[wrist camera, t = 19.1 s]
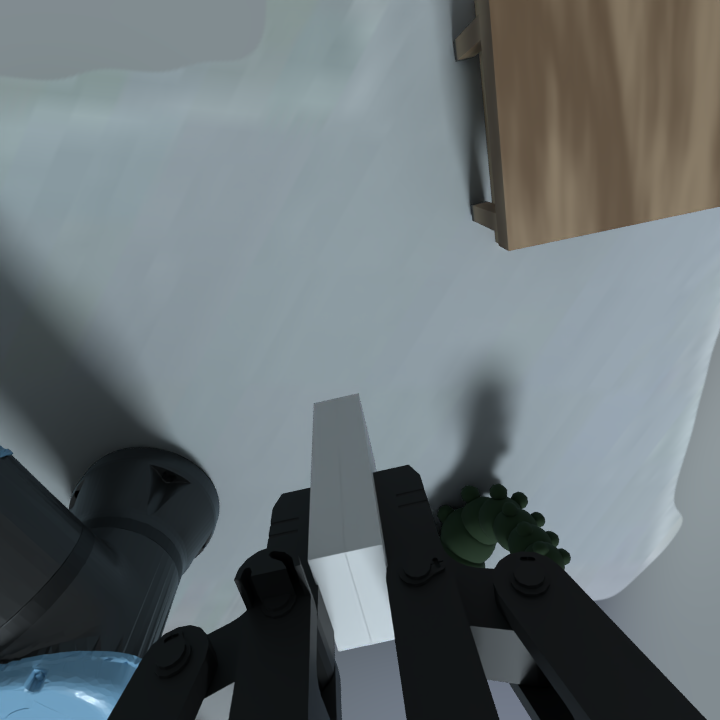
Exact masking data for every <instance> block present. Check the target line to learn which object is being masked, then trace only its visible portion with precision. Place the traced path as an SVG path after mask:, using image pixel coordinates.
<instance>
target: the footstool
mask: <svg viewBox="0 0 720 720" xmlns="http://www.w3.org/2000/svg"><path fill="white" fill-rule="evenodd" d="M477 1H478V12H479V14H478V15H477V16H476V17H475V19H474V20H473V21H472V22H471V23H470V24H469V25H468V26H467V27H466V28H465V29H464V31H463V32H462V33H461V34H460V35H459V36H458V37H457V38H456V39H455V40H454V50H455V60H456V62H457V61H461V60H465V59H470V58H473V57H474V56H476V55H477V54H478V53H479V52H481V51H482V58H483V70H484V82H485V93H486V105H487V116H488V128H489V139H490V151H491V163H492V174H493V186H494V197H495V204H494V203H490V202H487V201H486V202H481V203H476V204H472V205H471V210H472V220H473V221H475V222H477V223H479V224H481V225H483V226H485V227H487V228H489V229H492V230H494V231H496V232H498V244H499V246H501V247H502V248H504V249H506V250H508V251H511V250H516V249H521V248H525V247H530V246H535V245H540V244H544V243H549V242H554V241H559V240H563V239H568V238H573V237H578V236H582V235H587V234H592V233H597V232H601V231H606V230H611V229H616V228H620V227H625V226H630V225H635V224H639V223H644V222H649V221H654V220H658V219H663V218H668V217H673V216H677V215H682V214H687V213H692V212H696V211H701V210H706V209H711V208H715V207H720V0H477Z"/></svg>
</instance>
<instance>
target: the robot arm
mask: <svg viewBox="0 0 720 720" xmlns="http://www.w3.org/2000/svg"><path fill="white" fill-rule="evenodd" d="M12 454H13V452H12V451H11V450H9V449H4V448H3V447H2V446H0V720H342V712H341V684H340V675H339V671H338V667H337V664H336V661H335V650H334V649H335V647H334V639H335V642H336V645H337V648H338V651H343V650H348V649H352V648H356V647H361V646H366V645H371V644H376V643H380V642H384V641H389V640H394V639H395V643H396V651H397V657H398V663H399V671H400V677H401V684H402V691H403V697H404V704H405V711H406V718H407V720H499V717H498V714H497V710H496V707H495V704H494V701H493V698H492V695H491V692H490V689H489V685H488V682H487V680H493V681H500V682H507V683H509V684H510V685H511V687H512V689H513V690H514V692H515V693H516V695H517V697H518V698H519V700H520V702H521V703H522V705H523V706H524V708H525V710H526V711H527V713H528V714H529V716H530V718H531V719H532V720H707V719H706V718H705V717H704V716H702V715H701V713H700V712H699V711H698V710H697V709H696V708H695V707H694V706H693V705H692V704H691V703H690V702H689V701H688V700H687V698H685V696H683V694H682V693H681V692H680V691H679V690H678V689H677V688H676V687H675V686H674V685H673V684H672V683H671V682H670V681H669V680H668V679H667V678H666V677H665V676H664V675H663V673H662V672H661V671H660V670H659V669H658V668H657V667H656V666H655V665H654V664H653V663H652V662H651V661H650V660H649V659H648V658H647V657H646V656H645V654H643V652H642V651H641V650H640V649H639V648H638V647H637V646H636V645H635V644H634V643H633V642H632V641H631V640H630V639H629V638H628V637H627V636H626V635H625V634H624V632H623V631H622V630H621V629H620V628H619V627H618V626H617V625H616V624H615V623H614V622H613V621H612V620H611V619H610V618H609V617H608V616H607V615H606V614H605V613H604V612H603V611H602V610H601V608H600V607H599V606H598V605H597V604H596V603H595V602H594V601H593V600H592V599H591V598H590V597H589V596H588V595H587V594H586V593H585V592H584V591H583V589H582V588H581V587H580V586H579V585H578V584H577V583H576V582H575V581H574V580H573V579H572V578H571V577H570V576H569V575H568V574H567V573H566V572H565V571H564V570H563V569H562V567H561V566H560V565H558V564H557V563H556V562H554V561H553V560H552V559H550V558H549V557H547V556H544V555H541V554H539V553H536V552H523V551H520V552H517V553H513V554H509V555H507V556H506V557H504V558H503V559H501V560H500V561H499V562H498V564H497V565H496V567H495V569H489V568H477V567H471V566H466V565H464V564H461V563H459V562H457V561H455V560H454V559H452V558H451V557H450V556H449V555H448V554H447V553H446V552H445V550H444V548H443V546H442V544H441V541H440V538H439V535H438V531H437V528H436V525H435V522H434V519H433V515H432V512H431V509H430V506H429V503H428V499H427V496H426V493H425V490H424V487H423V483H422V480H421V477H420V475H419V474H418V473H417V472H416V471H415V470H414V469H413V468H412V467H411V466H409V465H405V466H401V467H396V468H391V469H387V470H382V471H378V472H377V471H376V465H375V460H374V456H373V452H372V447H371V443H370V439H369V435H368V431H367V426H366V422H365V418H364V414H363V410H362V405H361V401H360V397H359V393H358V394H354V395H349V396H345V397H340V398H336V399H331V400H327V401H322V402H318V403H314V411H313V436H312V462H311V488H306V489H302V490H297V491H293V492H288V493H284V494H282V495H281V496H280V498H279V499H278V501H277V503H276V504H275V506H274V507H273V510H272V517H271V526H270V531H269V539H268V544H267V548H266V549H264V550H261V551H258V552H257V553H255V554H254V555H252V556H251V557H250V558H248V559H247V560H246V561H245V562H244V563H243V565H242V566H241V567H240V568H239V570H238V572H237V574H236V577H235V579H234V581H235V583H236V585H237V588H238V590H239V592H240V594H241V597H242V599H243V601H244V604H245V606H246V608H247V611H246V612H245V613H244V614H242V615H241V616H240V617H239V618H237V619H236V620H234V621H232V622H231V623H229V624H227V625H225V626H223V627H221V628H219V629H217V630H216V631H214V632H212V633H210V634H208V635H207V634H206V633H205V632H204V631H203V630H202V629H201V628H200V627H196V626H192V625H188V626H183V627H178V628H176V629H174V630H172V631H170V632H168V633H166V634H164V635H163V636H162V633H163V630H164V627H165V624H166V621H167V618H168V615H169V612H170V609H171V606H172V603H173V600H174V597H175V594H176V591H177V588H178V585H179V582H180V579H181V576H182V575H183V574H184V573H185V571H186V570H187V569H188V567H189V566H190V564H191V563H192V561H193V559H194V558H196V557H197V556H198V555H199V554H200V553H201V552H202V551H203V550H204V548H205V547H206V546H207V544H208V543H209V541H210V539H211V537H212V535H213V533H214V530H215V526H216V523H217V520H218V516H219V500H218V496H217V493H216V490H215V488H214V486H213V484H212V482H211V481H210V479H209V478H208V477H207V476H206V475H205V473H204V472H203V471H202V470H200V469H199V468H198V467H197V466H196V465H194V464H193V463H192V462H190V461H188V460H187V459H185V458H183V457H181V456H179V455H176V454H174V453H171V452H168V451H164V450H160V449H154V448H129V449H123V450H119V451H116V452H113V453H111V454H108V455H106V456H104V457H103V458H101V459H100V460H98V461H97V462H96V463H94V464H93V465H92V466H91V467H90V468H89V470H88V471H87V472H86V473H85V475H84V476H83V477H82V479H81V480H80V481H79V483H78V484H77V486H76V488H75V490H74V492H73V494H72V497H71V500H70V505H69V509H67V508H66V507H65V506H64V505H63V504H62V503H61V502H60V501H59V500H58V499H57V498H56V497H55V496H54V495H53V494H51V493H50V492H49V491H48V490H47V489H46V488H45V487H44V486H43V485H42V484H41V483H40V482H39V481H38V480H37V479H36V478H35V477H34V476H33V475H32V474H31V473H30V472H29V471H28V470H27V469H26V468H25V467H24V466H23V465H22V464H21V463H20V462H19V461H18V460H17V459H15V458H14V457H13V456H12ZM161 636H162V637H161Z"/></svg>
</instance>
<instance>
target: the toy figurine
mask: <svg viewBox="0 0 720 720" xmlns="http://www.w3.org/2000/svg"><path fill="white" fill-rule="evenodd" d="M461 496H462V499H463V501H464V502H466V503H467V504H466V505H465V506H464V507H463V508H459V509H457V510H455V511H454V510H453V508H452V507H450V506H448V505H444V506H442V507H440V508H439V512H438V515H437V516H438V518H439V520H440V521H441V522H442V523H443V525H442V528H441V536H440V537H439V538H440V541H441V544H442V546H443V548H444V550H445V552H446V553H447V554H448V555H449V556H450V557H451V558H452V559H454V560H455V561H457V562H459V563H461V564H464V565H466V566H471V567H477V568H485V562H484V561H486V560H487V559H488V558H489V557H490V556H491V554H492V553H493V551H494V549H495V546H496V543H497V542H498V543H499V544H500V545H501V546H502V547H503V548H504V549H506V550H508V551H510V554H513V553H517V552H520V551H523V552H536V553H539V554H541V555H544V556H547V557H549V558H550V559H552V560H553V561H554V562H556V563H557V564H558V565H560V566H561V567H562V569H563V570H564V569H565V565H566V564H568V563H569V562H570V559H571V557H570V554H569V553H568V552H567V551H566V550H564V549H563V548H562V549H557V548H556V546H557V545H558V543H559V538H558V535H556V534H555V533H554V532H551V531H546V532H545V531H544V530H543V529H541V528H540V527H542V526H543V525H544V523H545V518H544V517H543V515H542V514H541V513H538V512H534V513H532V514H531V515H530V514H529V513H528V512H527V511H525V510H522V509H523V508H525V507H526V505H527V504H528V500H527V497H526V496H525V495H524V494H523V493H521V492H516V493H514V494H513V495H512V497H511V498H509V497H507V489H506V488H505V487H504V486H503V485H501V484H496V485H493V486H492V487H491V488H490V496H491V498H489V497H483V496H481V497H480V493H479V491H478V489H477V488H476V487H473V486H470V485H468V486H465V487H464V488H463V489H462V492H461Z"/></svg>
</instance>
